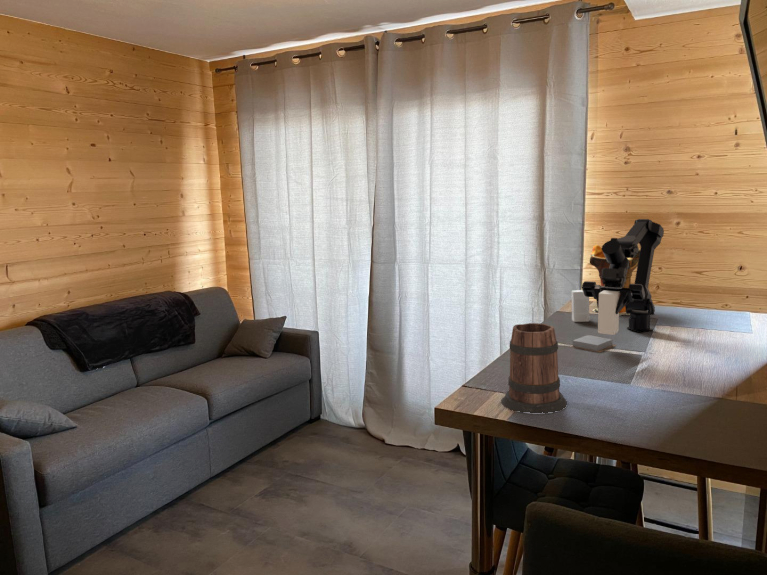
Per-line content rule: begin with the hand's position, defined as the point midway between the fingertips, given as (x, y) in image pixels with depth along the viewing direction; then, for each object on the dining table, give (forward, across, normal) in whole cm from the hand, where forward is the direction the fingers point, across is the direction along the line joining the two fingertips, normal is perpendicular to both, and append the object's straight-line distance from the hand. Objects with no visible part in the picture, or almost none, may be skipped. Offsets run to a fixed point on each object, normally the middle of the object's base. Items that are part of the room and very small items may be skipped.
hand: (607, 312), depth 193 cm
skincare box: (-18, -21, +38) cm, 47 cm away
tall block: (+4, 0, +6) cm, 7 cm away
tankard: (+43, -5, -25) cm, 50 cm away
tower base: (+8, -5, +12) cm, 15 cm away
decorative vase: (-33, -14, +54) cm, 65 cm away
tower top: (+7, -5, +10) cm, 13 cm away
